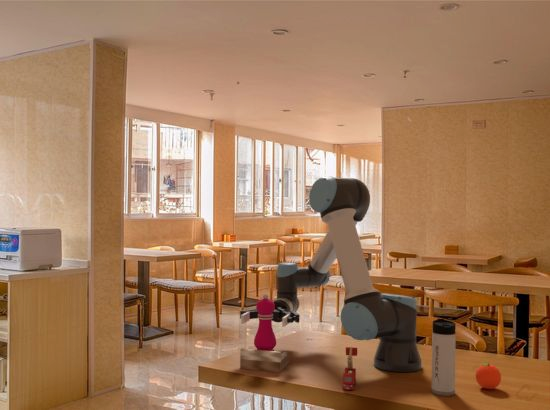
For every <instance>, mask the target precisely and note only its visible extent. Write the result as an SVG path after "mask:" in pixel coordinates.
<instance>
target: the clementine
mask: <svg viewBox="0 0 550 410" xmlns="http://www.w3.org/2000/svg"><path fill="white" fill-rule="evenodd" d="M479 365H480V366H479ZM478 366H479V367H478ZM476 367H478V368H477V369H476V371H475V381H476V383H478V385H479V386H480V387H482V388H483V389H486V390H493V389H495V388H498V386H499V385H500V384H501V381H502V374H501V372H500V370H499V369H498V367H496V366H495V365H493V364H490V363H480V364H476V365H475V366H474V367H473V369H475V368H476Z"/></svg>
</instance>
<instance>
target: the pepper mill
mask: <svg viewBox="0 0 550 410" xmlns="http://www.w3.org/2000/svg"><path fill="white" fill-rule="evenodd" d="M273 301H274V300H272V299H270V298H269V295H268V294H267V293H264V294H263V295H262V298H261V299H259V300H258V301H257V303H256V305H255V308H256V309H257V311H258V312H259V314H258V318H257V319H258V327H257V332H256V333H255V336H254V339H253V345H254V347H255V348H256V350H265V351H275V349H274V348H275V347H276V346H277V338H276V335H275V332H274V329H273V325H272V322H273V321H272V319H273V314H272V312H273V311H274V309H275V304H274V302H273Z"/></svg>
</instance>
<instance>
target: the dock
mask: <svg viewBox="0 0 550 410" xmlns="http://www.w3.org/2000/svg"><path fill="white" fill-rule="evenodd" d="M239 355H240V357H239V358H240V359H239V364H240V365H239V369H243V370H250V371H251V370H252V371H253V370H254V371H265V372H275V373H280V372H282V371H283V370H284V369H285V368H286V367H287V365H288V364H289V361H290V359H289V358H290V357H289V356H290V354H289V353H288V351H287V350H283V351H279V350H278V351H275V350H274V351H265V350H257V349H252V348H251V347H248V348H240V354H239Z"/></svg>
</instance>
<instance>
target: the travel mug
mask: <svg viewBox="0 0 550 410" xmlns="http://www.w3.org/2000/svg"><path fill="white" fill-rule="evenodd" d="M456 327H457V326H456V323H455V322H454V321H452V320H449V319H444V318H437V319H435V320H433V321H432V333H431V339H432V340H431V348H432V349H431V392H432V394H435V395H437V396H441V397H442V396H443V397H451V395H452V396H454V395H455V394H456V347H457V346H456V344H457V343H456V341H457V340H456V339H457V338H456V335H457V334H456V333H457V332H456Z"/></svg>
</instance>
